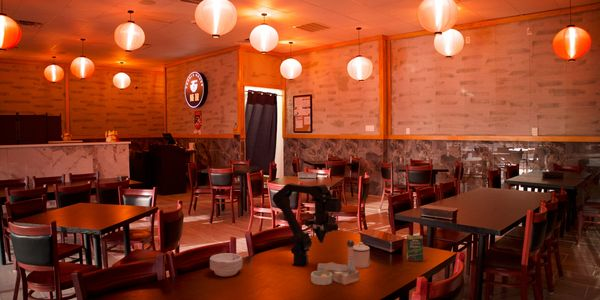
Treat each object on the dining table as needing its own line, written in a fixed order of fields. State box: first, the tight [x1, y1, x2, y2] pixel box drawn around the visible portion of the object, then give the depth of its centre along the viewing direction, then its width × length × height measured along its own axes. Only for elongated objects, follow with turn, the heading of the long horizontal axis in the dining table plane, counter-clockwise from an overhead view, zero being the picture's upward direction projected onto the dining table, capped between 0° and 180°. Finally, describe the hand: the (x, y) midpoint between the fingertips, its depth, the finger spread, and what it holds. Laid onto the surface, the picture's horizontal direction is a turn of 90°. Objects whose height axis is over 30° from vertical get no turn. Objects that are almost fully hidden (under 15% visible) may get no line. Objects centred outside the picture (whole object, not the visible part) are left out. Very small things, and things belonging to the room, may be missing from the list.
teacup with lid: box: [353, 241, 371, 269], centre depth 221 cm, size 12×9×12 cm
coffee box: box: [406, 234, 424, 262], centre depth 226 cm, size 8×3×13 cm, turn 82°
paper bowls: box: [209, 252, 243, 277], centre depth 209 cm, size 15×15×8 cm
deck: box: [317, 261, 360, 285], centre depth 202 cm, size 18×9×4 cm, turn 39°
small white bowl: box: [310, 270, 333, 286], centre depth 197 cm, size 9×9×4 cm
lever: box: [317, 239, 356, 275], centre depth 197 cm, size 17×7×15 cm, turn 79°
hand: (321, 242), depth 214 cm, fingers closed
